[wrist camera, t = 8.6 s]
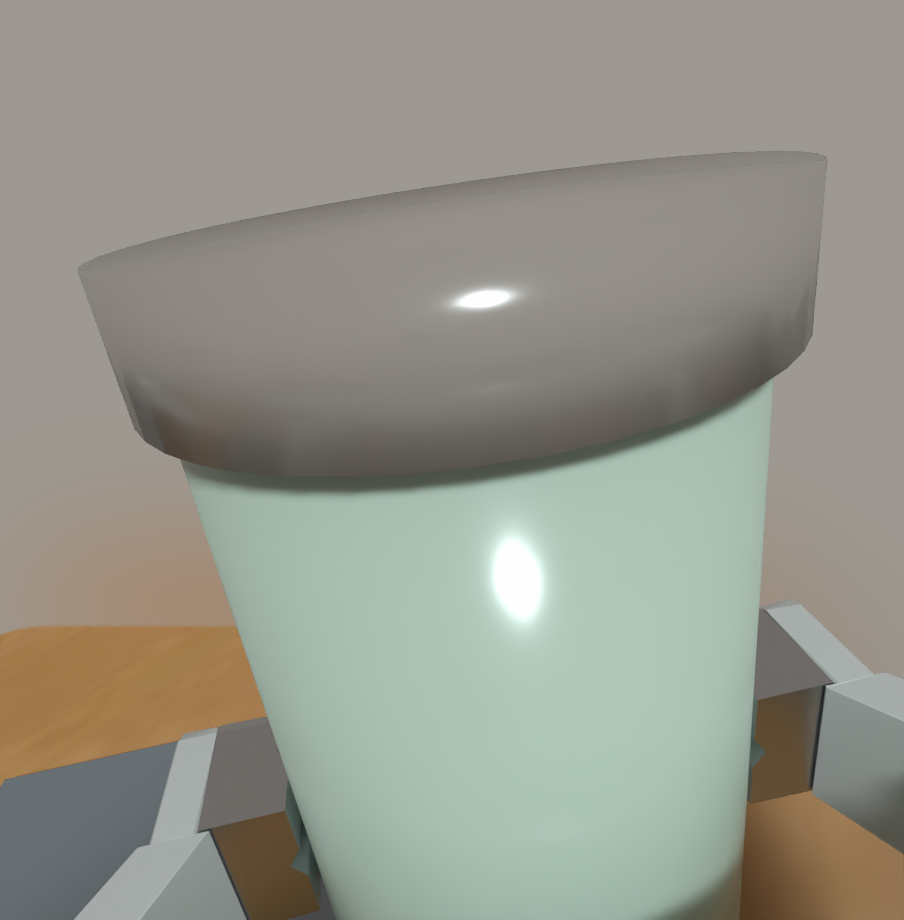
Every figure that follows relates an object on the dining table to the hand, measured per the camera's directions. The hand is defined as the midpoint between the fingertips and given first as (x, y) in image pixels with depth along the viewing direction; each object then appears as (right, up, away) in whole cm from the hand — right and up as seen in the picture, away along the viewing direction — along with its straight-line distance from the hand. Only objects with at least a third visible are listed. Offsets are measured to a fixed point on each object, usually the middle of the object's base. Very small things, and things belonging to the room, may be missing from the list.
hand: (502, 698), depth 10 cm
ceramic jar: (+1, -6, +2) cm, 7 cm away
